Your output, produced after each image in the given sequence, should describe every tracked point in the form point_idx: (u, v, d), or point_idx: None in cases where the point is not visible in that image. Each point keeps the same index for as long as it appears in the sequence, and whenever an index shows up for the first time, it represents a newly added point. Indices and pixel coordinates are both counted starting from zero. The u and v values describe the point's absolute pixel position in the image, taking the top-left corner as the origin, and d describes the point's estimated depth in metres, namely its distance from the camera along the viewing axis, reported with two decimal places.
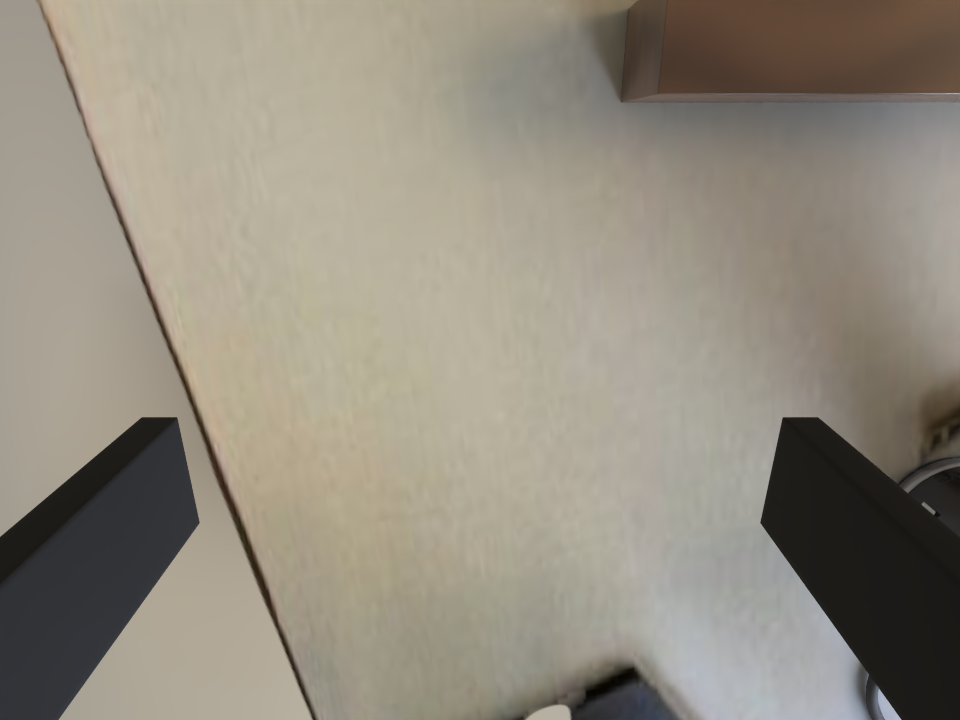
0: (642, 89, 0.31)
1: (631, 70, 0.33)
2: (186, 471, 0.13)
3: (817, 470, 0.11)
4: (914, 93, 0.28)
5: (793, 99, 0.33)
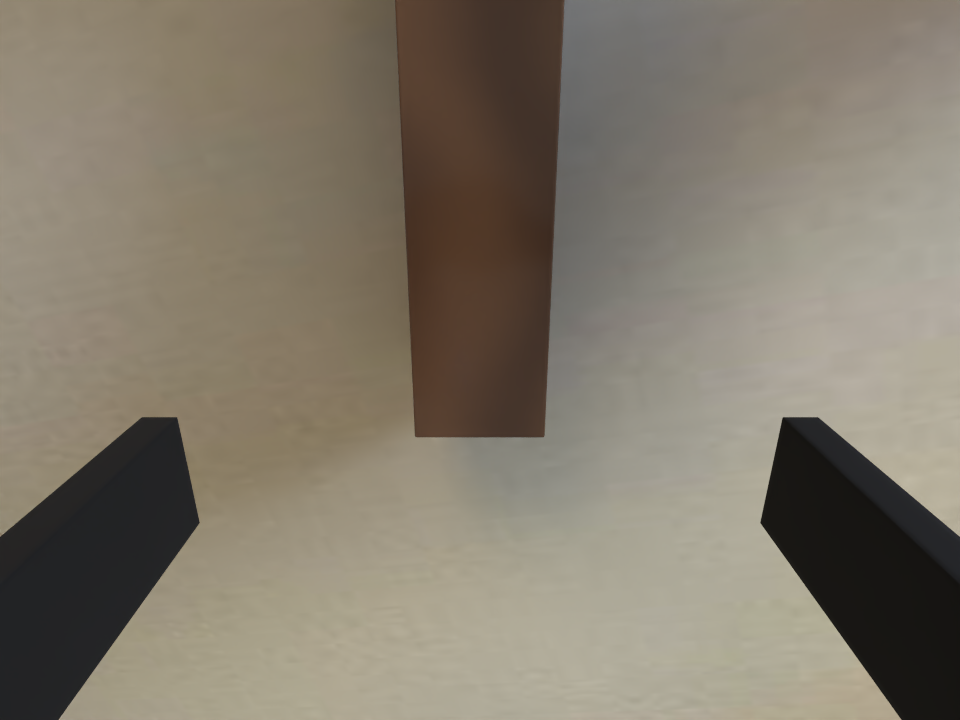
0: None
1: None
2: (186, 471, 0.13)
3: (817, 470, 0.11)
4: (559, 77, 0.18)
5: None
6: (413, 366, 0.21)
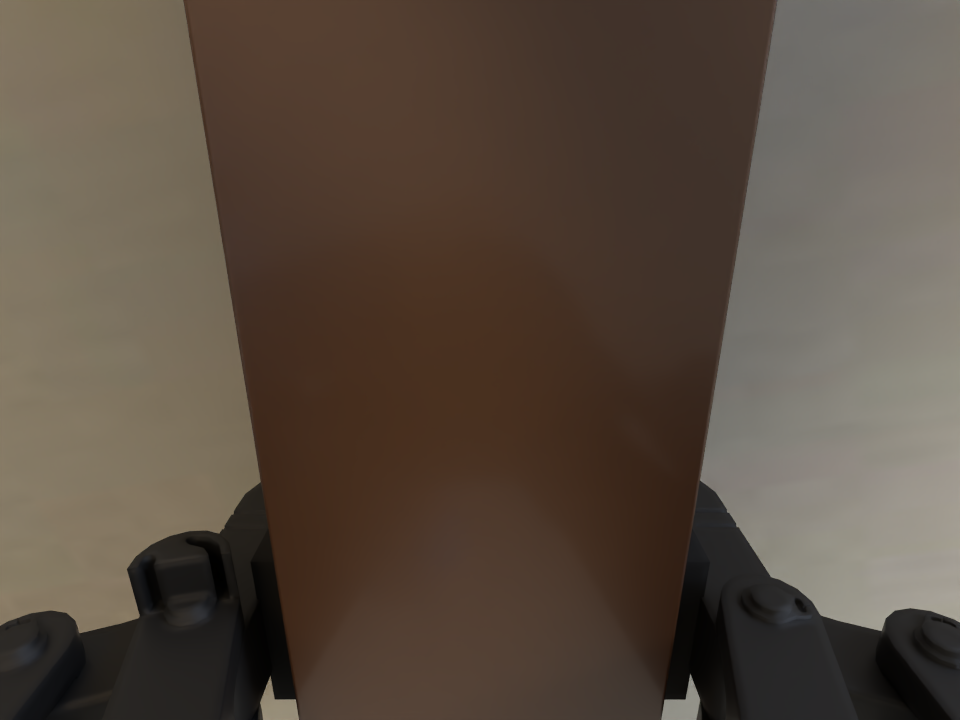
0: None
1: None
2: None
3: None
4: None
5: None
6: None
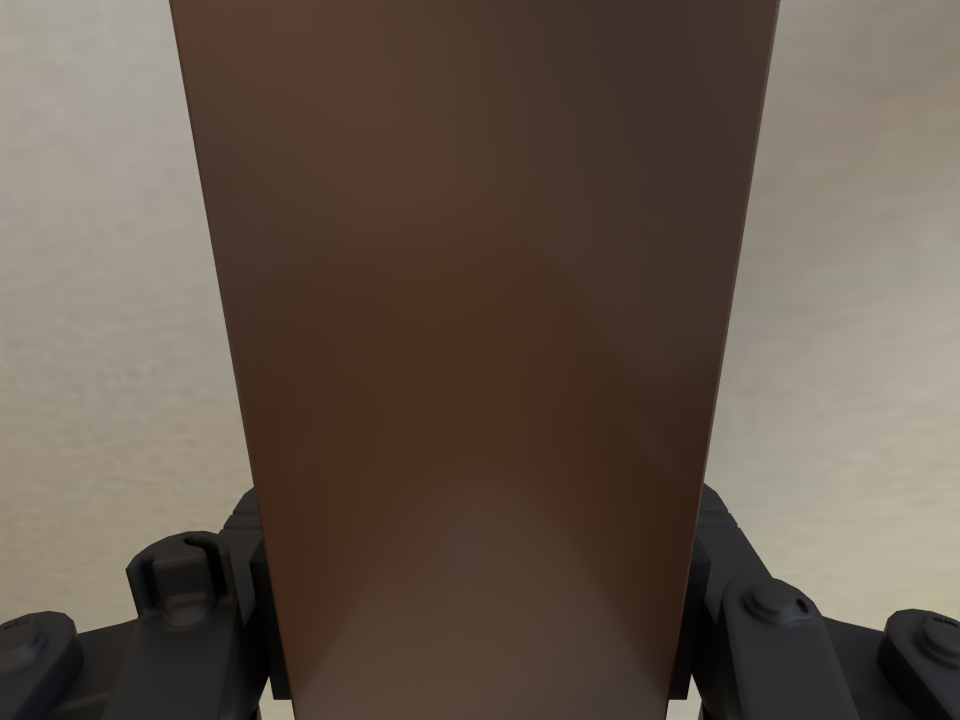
0: None
1: None
2: None
3: None
4: None
5: None
6: None
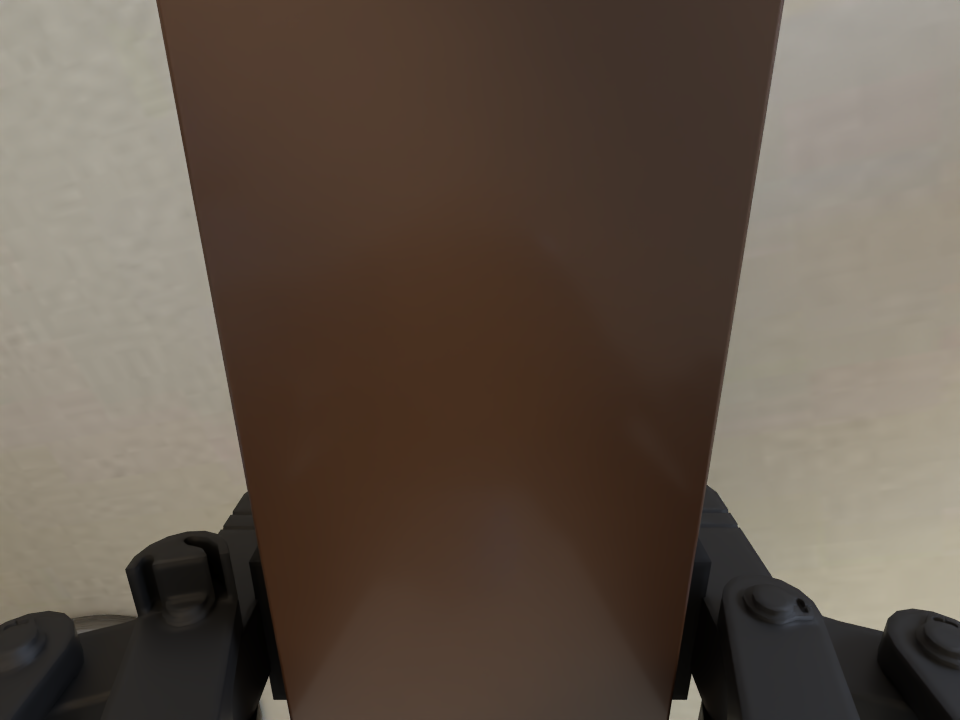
0: None
1: None
2: None
3: None
4: None
5: None
6: None
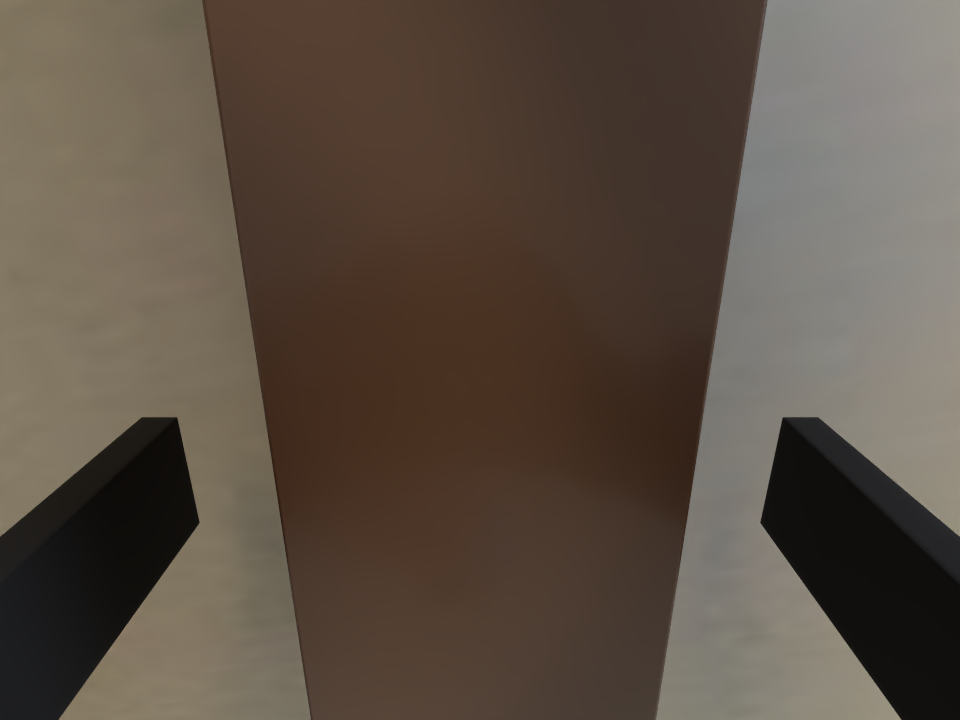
0: None
1: None
2: (186, 471, 0.13)
3: (817, 470, 0.11)
4: None
5: None
6: None
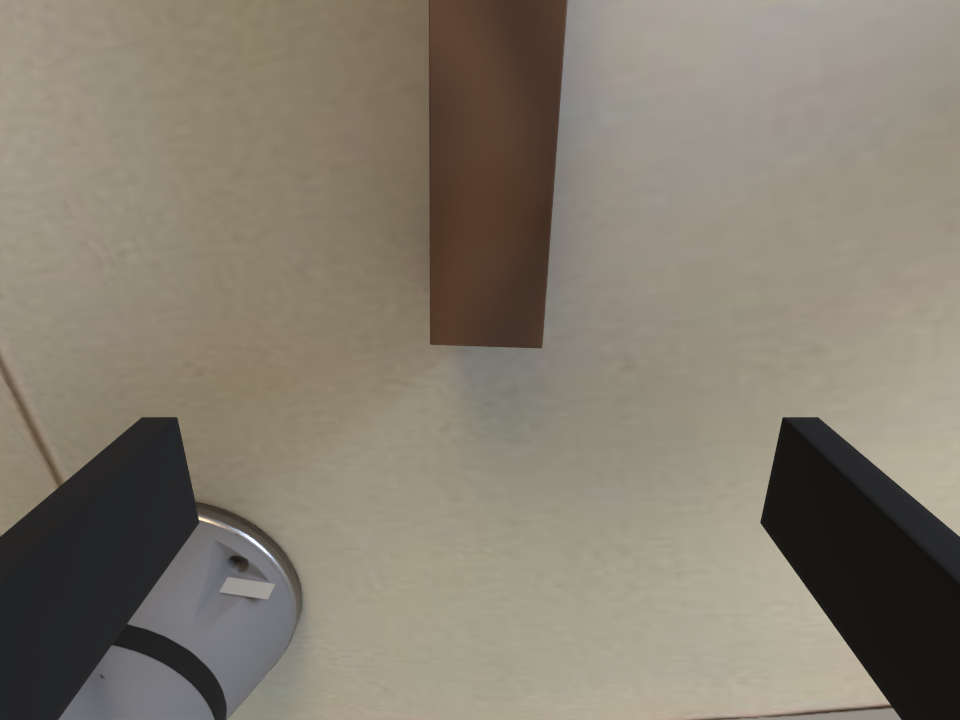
0: None
1: None
2: (186, 471, 0.13)
3: (817, 470, 0.11)
4: (564, 27, 0.21)
5: None
6: (431, 280, 0.25)
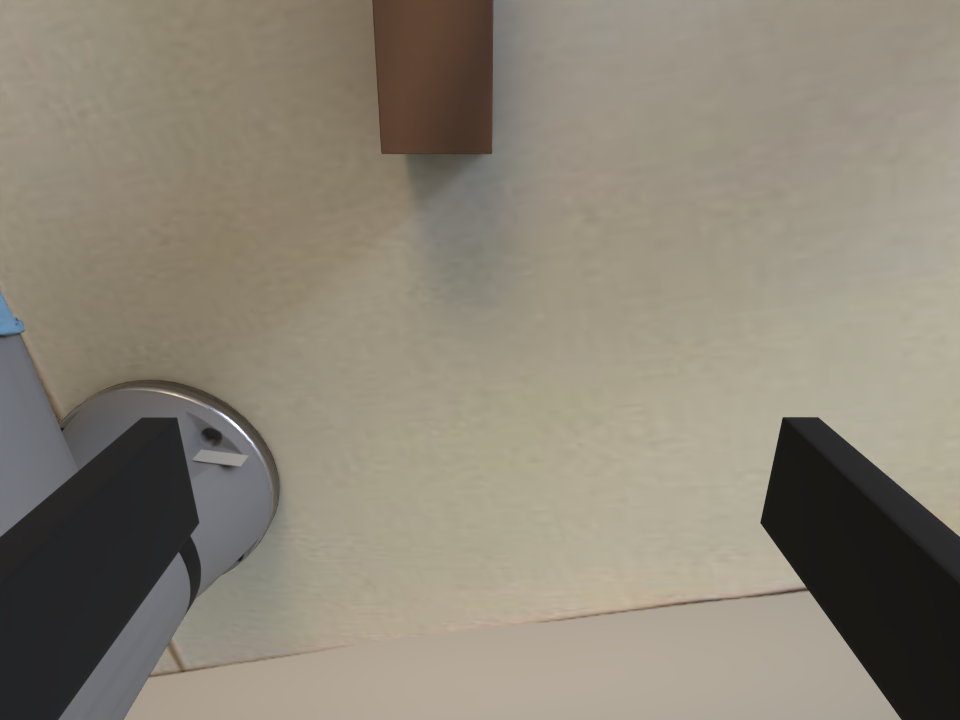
0: None
1: None
2: (186, 471, 0.13)
3: (817, 470, 0.11)
4: None
5: None
6: (378, 81, 0.25)
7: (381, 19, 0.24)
